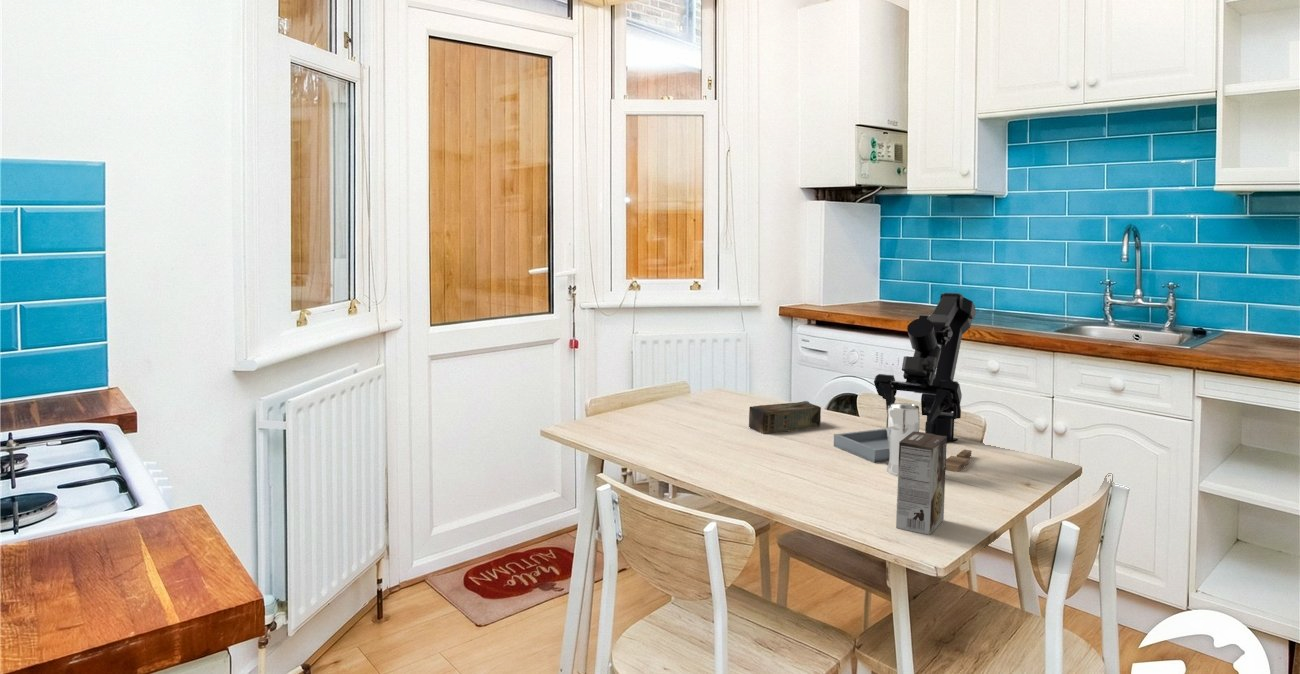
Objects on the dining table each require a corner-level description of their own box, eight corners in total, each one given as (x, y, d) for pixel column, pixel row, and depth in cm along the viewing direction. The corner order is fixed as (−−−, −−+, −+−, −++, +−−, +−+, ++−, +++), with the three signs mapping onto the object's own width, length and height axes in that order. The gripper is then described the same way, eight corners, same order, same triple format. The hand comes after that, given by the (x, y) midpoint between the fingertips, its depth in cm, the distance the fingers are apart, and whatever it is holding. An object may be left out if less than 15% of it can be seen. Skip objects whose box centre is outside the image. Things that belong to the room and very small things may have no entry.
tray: (885, 439, 204) (886, 428, 203) (929, 455, 189) (929, 443, 189) (833, 446, 198) (834, 434, 197) (874, 463, 183) (874, 450, 183)
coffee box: (909, 513, 150) (912, 430, 148) (944, 520, 146) (948, 435, 144) (894, 528, 143) (897, 440, 141) (930, 535, 139) (934, 446, 137)
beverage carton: (822, 427, 217) (822, 404, 217) (762, 435, 209) (763, 411, 209) (804, 421, 225) (805, 398, 224) (746, 428, 217) (747, 405, 216)
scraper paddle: (959, 455, 190) (959, 448, 189) (976, 457, 187) (976, 451, 187) (939, 468, 179) (940, 461, 178) (958, 471, 176) (958, 464, 176)
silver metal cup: (919, 477, 172) (922, 410, 170) (886, 475, 173) (888, 408, 171) (915, 468, 179) (918, 403, 177) (883, 466, 180) (885, 402, 178)
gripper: (878, 339, 186) (860, 393, 178) (961, 346, 175) (946, 403, 168) (887, 368, 193) (870, 421, 185) (967, 376, 183) (953, 432, 175)
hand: (908, 419), depth 178 cm, fingers open, 9 cm apart
